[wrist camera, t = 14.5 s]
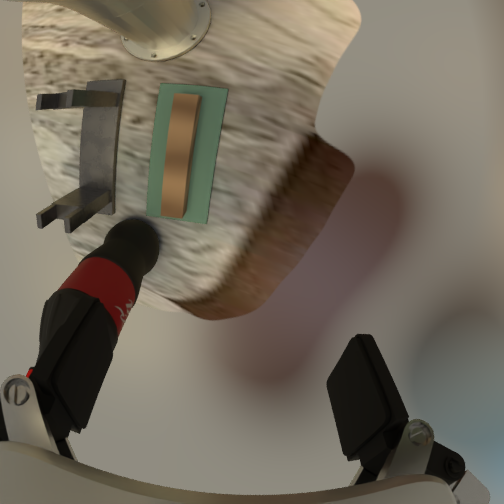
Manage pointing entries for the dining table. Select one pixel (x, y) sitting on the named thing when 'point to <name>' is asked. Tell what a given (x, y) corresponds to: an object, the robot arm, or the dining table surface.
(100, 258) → the cola bottle
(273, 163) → the dining table surface
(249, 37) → the dining table surface
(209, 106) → the rubber mat
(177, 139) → the walnut rail
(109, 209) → the rail stand
